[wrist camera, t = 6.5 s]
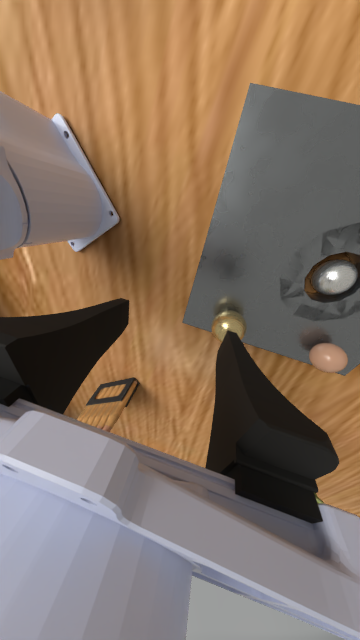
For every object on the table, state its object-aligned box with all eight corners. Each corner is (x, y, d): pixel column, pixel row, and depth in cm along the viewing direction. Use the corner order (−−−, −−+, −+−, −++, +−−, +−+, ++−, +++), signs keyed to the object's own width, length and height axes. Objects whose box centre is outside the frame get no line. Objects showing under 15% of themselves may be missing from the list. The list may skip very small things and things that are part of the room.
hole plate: (186, 313, 23) (182, 322, 21) (246, 105, 13) (250, 82, 11) (333, 360, 22) (344, 375, 20) (541, 168, 11) (613, 157, 9)
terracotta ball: (302, 340, 19) (314, 359, 16) (336, 334, 17) (354, 353, 15) (306, 360, 20) (318, 380, 17) (338, 355, 18) (356, 376, 16)
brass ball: (207, 310, 19) (204, 327, 16) (239, 300, 18) (241, 316, 15) (218, 334, 21) (217, 354, 18) (249, 327, 19) (253, 347, 16)
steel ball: (371, 288, 14) (343, 275, 17) (365, 256, 13) (336, 248, 16) (329, 306, 16) (309, 292, 18) (319, 279, 14) (300, 268, 17)
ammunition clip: (135, 377, 34) (96, 444, 24) (140, 383, 34) (104, 451, 24) (100, 384, 38) (55, 443, 28) (105, 389, 39) (63, 449, 29)
